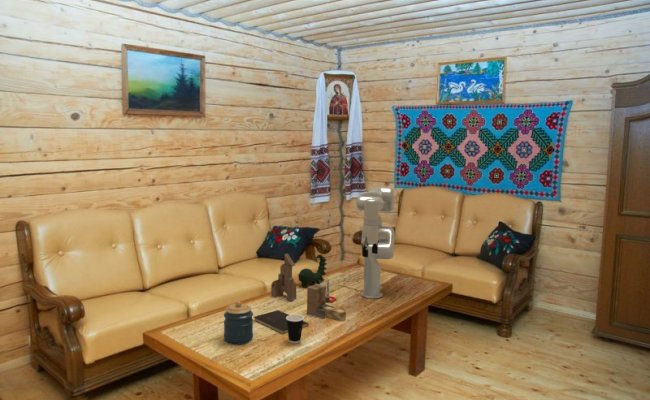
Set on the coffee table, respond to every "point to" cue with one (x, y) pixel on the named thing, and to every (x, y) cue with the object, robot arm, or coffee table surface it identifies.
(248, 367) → the coffee table surface
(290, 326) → the dixie cup
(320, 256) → the toy figurine
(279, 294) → the wooden toy
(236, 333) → the canister
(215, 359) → the coffee table surface
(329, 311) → the bed rail
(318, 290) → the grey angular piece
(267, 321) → the hardcover book
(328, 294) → the tow hook
